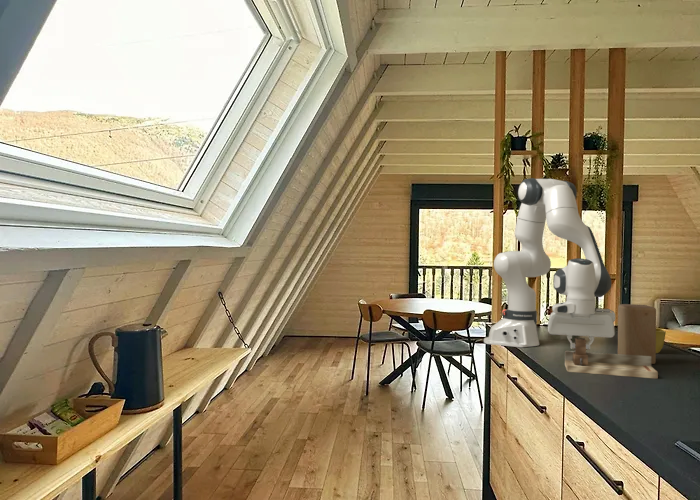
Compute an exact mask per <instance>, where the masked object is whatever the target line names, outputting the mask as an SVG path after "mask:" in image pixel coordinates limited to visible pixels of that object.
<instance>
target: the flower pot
mask: <svg viewBox="0 0 700 500" xmlns="http://www.w3.org/2000/svg"><path fill="white" fill-rule="evenodd" d="M665 339H666V331H665V330H664V329H662V328H658V327H656V354H659V353H660V352H661V351H662V349H663V348H664V345H665Z"/></svg>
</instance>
